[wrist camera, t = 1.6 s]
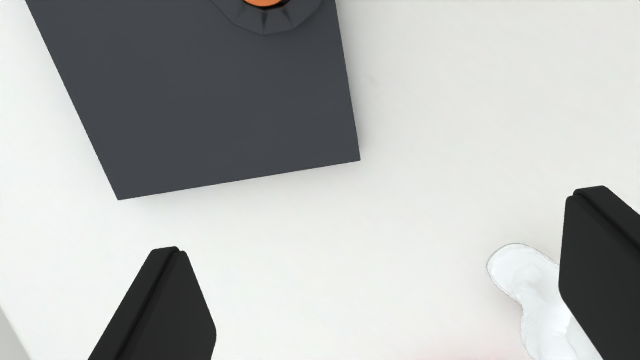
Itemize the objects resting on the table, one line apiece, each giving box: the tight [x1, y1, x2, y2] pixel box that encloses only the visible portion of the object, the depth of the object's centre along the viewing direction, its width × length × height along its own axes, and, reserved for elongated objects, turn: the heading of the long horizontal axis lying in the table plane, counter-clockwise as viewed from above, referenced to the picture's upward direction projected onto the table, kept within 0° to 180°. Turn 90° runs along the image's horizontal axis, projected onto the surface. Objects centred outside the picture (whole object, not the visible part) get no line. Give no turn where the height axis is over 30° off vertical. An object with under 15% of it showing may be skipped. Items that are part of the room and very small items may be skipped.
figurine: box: [487, 244, 603, 360], centre depth 28 cm, size 9×6×12 cm
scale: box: [25, 0, 360, 200], centre depth 25 cm, size 16×14×4 cm
